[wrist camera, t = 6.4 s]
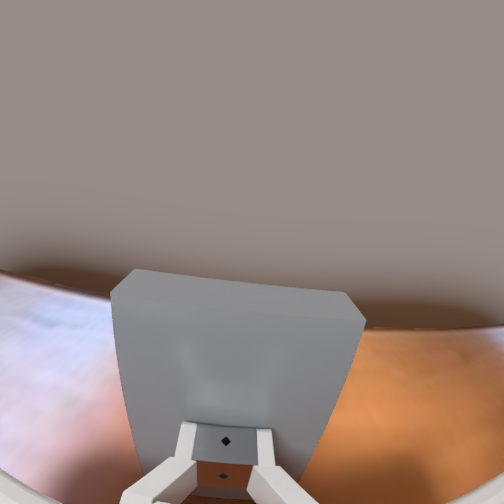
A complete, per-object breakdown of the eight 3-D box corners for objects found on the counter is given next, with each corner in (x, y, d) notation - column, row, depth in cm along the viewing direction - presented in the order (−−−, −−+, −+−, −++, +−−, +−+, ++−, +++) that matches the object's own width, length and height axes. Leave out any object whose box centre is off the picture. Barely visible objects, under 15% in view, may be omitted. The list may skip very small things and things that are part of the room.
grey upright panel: (287, 499, 10) (366, 320, 7) (147, 486, 10) (110, 292, 7) (283, 467, 12) (342, 288, 10) (155, 454, 12) (137, 265, 9)
